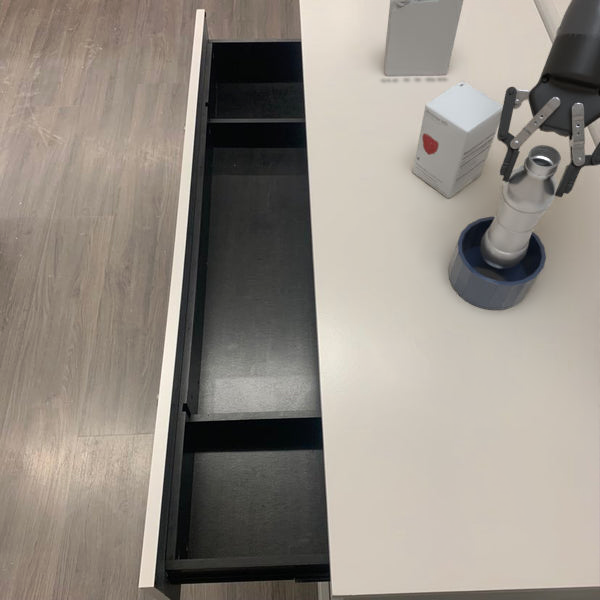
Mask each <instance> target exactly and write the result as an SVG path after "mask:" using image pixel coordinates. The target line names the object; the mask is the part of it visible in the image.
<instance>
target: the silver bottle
mask: <svg viewBox="0 0 600 600" xmlns="http://www.w3.org/2000/svg"><path fill="white" fill-rule="evenodd" d="M561 159H562V156H561V154H560V152H559V150H557V148H555V147H553V146H550V145H545V144H541V145H536V146H534V147H532V148H531V149H530V151H529V152H528V154H527V157H525V159H524V162H523V164H522V165H520V166H518V167H517V168H515V169H513V171H512V173H511V176H510V178H509V181H508V182H505V181H504V183H503V186H502V191H501V195H500V196H501V197H500V202H499V205H498V208H497V212H496V215H495V216H494V217H495V218H494V220H493V222H492V224H491V225H490V227H489V228H488V229H487V231H486V232H485V234H484V235H483V237H482V239H481V245H480V253H481V256H482V257H483V259H484V260H485V261H486V262H487V263H488V264H489V265H490V266H492V267H495V268H499V269H506V268H511V267H514V266H515V265H517V264H518V263H519V262H520V261H521V260H522V259H523V258H524V256H525V255H526V251H527V248H528V244H529V239H530V237H531V234H532V231H533V232H534V229H535V227H536V226H537V224H538V222H539V221H540V219H541V218H542V217H543V215H544V214H545V213H546V211H547V210H548V209H549V208H550V206H551V205H552V203H553V202H554V200H555V198H556V197H557V196H555V192H556V190H557V188H558V182H557V179H556V176H555V175H556V173H557V171H558V167H559V165H560V163H561Z"/></svg>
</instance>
